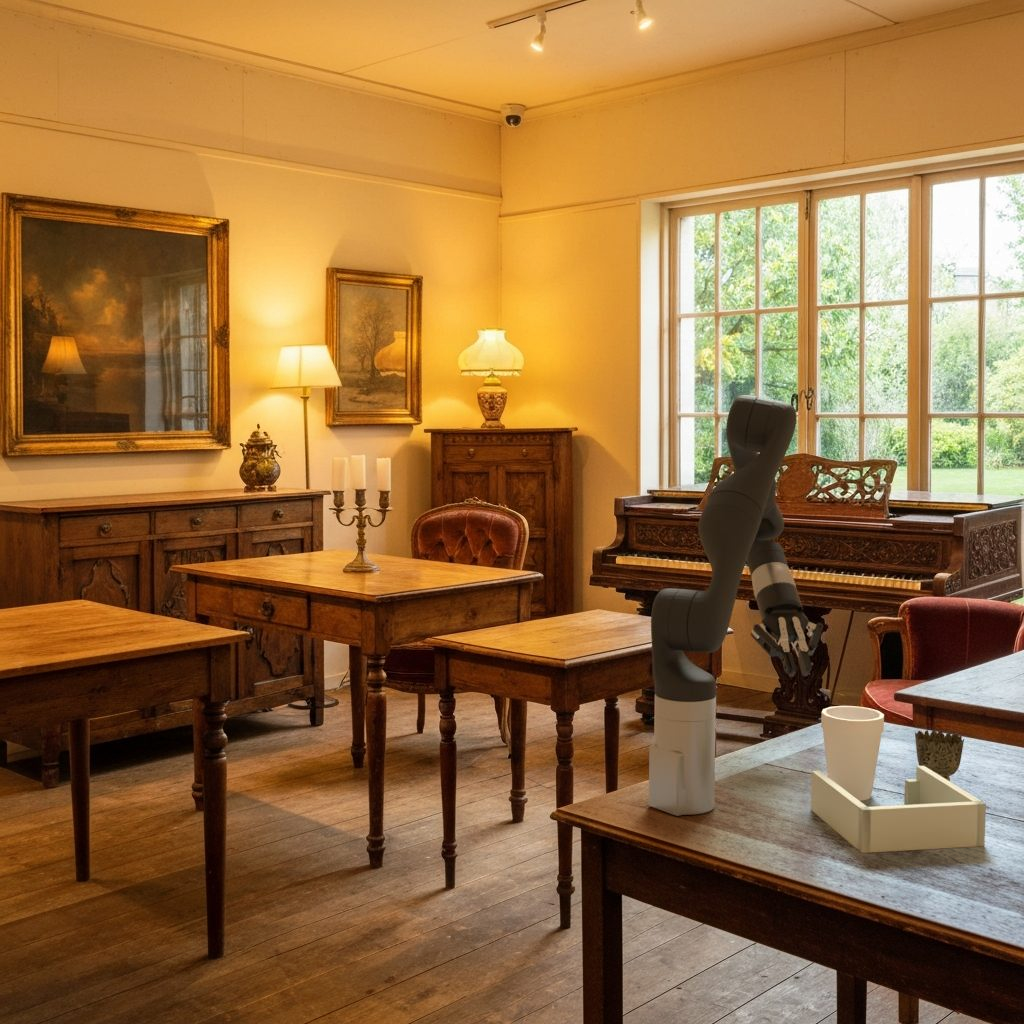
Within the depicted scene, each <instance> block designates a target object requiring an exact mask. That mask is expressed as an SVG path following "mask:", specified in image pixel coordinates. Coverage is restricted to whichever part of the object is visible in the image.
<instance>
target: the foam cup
mask: <svg viewBox="0 0 1024 1024" xmlns="http://www.w3.org/2000/svg"><path fill="white" fill-rule="evenodd" d="M820 715H821V716H820V717H821V719H820V722H821V724H820V727H821V728H822V734H823V736H822V737H823V743H824V744H823V745H824V754H825V761H826V770H827V772H826V773H827V777H828V778H830V779H831V780H832V781H834V782H835V783H836V784H838V785H839V786H840V787H842V788H843V789H844V790H846V791H847V792H848V793H850V794H851V795H852V796H854V797H855V798H856V799H858V800H859V801H860V802H862V801H867V800H869V799H870V800H871V798H872V793H873V789H874V782H875V777H876V776H875V775H876V772H877V764H878V759H879V754H880V753H879V752H880V746H881V742H882V741H881V739H882V735H883V732H884V728H885V714H884V713H882V712H881V711H879V710H877V709H873V708H869V707H863V706H858V705H857V706H855V705H854V706H853V705H838V706H836V705H835V706H829V707H826V708H823V709H822V711H821V714H820Z"/></svg>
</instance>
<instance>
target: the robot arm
mask: <svg viewBox="0 0 1024 1024" xmlns="http://www.w3.org/2000/svg"><path fill="white" fill-rule="evenodd" d="M730 406H731V407H729V408H730V409H729V412H728V415H727V419H726V426H725V427H726V429H725V434H726V442H727V446H728V450H729V451H728V452H729V454H730V459H731V462H732V466H733V469H734V471H733V473H731V474H729V475H728V476H727V477H725V478H723V479H721V481H720V482H718V483H717V484H716V485H715V486H714V487H713V488H712V489H711V491H710V492H709V494H708V496H707V499H706V501H705V505H704V507H703V509H702V512H701V515H700V518H699V521H698V524H697V525H698V526H697V527H698V536H699V540H700V543H701V546H702V547H703V550H704V552H705V554H706V557H707V559H708V562H709V564H710V568H711V572H712V574H711V580H710V584H709V586H708V588H706V589H705V590H695V589H685V588H669V587H668V588H663V589H661V590H660V591H659V592H658V593H657V594H656V596H655V598H654V600H653V603H652V608H651V613H650V614H651V616H650V632H651V637H650V638H651V655H652V657H651V658H652V659H651V660H652V661H651V662H652V678H653V681H654V682H653V683H654V723H653V725H654V727H653V729H654V731H653V732H654V734H653V736H654V737H653V738H654V739H653V743H651V744H650V745H649V750H648V751H649V752H648V753H649V754H648V758H649V759H648V765H649V766H648V769H649V770H648V806H649V807H651V808H654V809H657V810H660V811H662V812H666V813H667V814H670V815H673V816H677V817H678V816H682V815H683V816H685V815H701V814H706V813H708V812H711V811H712V810H714V808H715V796H716V795H715V790H716V789H715V785H716V784H715V783H716V781H715V780H716V721H717V720H716V719H717V715H716V713H717V708H716V707H717V682H716V681H717V680H716V679H715V676H713V675H712V674H711V673H709V672H707V671H706V670H704V669H702V668H700V667H698V666H696V664H694V663H693V662H692V661H691V660H689V659H688V657H687V656H686V654H685V652H694V653H703V654H706V653H714V652H716V651H718V650H719V649H720V648H721V646H722V645H723V643H724V641H725V638H726V636H727V633H728V629H729V627H730V622H731V619H732V615H733V611H734V606H735V602H736V599H737V594H738V590H739V587H740V583H741V578H742V575H743V572H744V569H745V566H746V563H747V567H748V570H749V573H750V577H751V581H752V583H751V584H752V590H753V595H754V597H755V600H756V604H757V607H758V611H759V615H760V618H761V623H760V624H757V623H756V624H754V625H753V627H752V629H751V632H750V636H751V637H752V638H753V640H754V641H755V642H756V643H757V644H758V645H759V646H760V647H761V648H762V649H763V650H764V651H765V652H766V653H767V654H768V656H770V657H772V658H773V657H778V658H779V659H780V660H781V664H782V667H783V670H784V672H785V674H788V676H789V677H794V676H795V675H796V674H797V673H796V672H797V667H796V664H795V661H794V656H793V654H792V652H790V644H791V646H792V648H793V649H794V650H795V653H796V655H797V657H798V658H797V661H798V664H799V668H800V669H799V670H800V672H801V675H802V677H808V676H809V674H810V672H811V670H812V667H813V665H812V661H811V659H810V656H813V655H814V652H815V650H817V648H818V645H819V641H820V638H821V635H822V631H823V628H824V624H823V623H822V622H817V623H814V622H812V621H809V619H808V617H807V616H806V614H805V613H804V608H803V604H802V601H801V598H800V595H799V592H798V588H797V586H796V583H795V579H794V577H793V576H794V575H792V572H791V570H790V568H789V564H788V561H787V558H786V554H785V552H784V548H783V547H782V545H781V544H780V543H779V542H776V541H773V539H777V538H779V536H780V535H782V533H783V531H784V528H785V521H784V516H783V514H782V511H781V509H780V507H779V506H778V504H777V502H776V494H777V491H776V490H777V481H776V476H777V475H778V472H779V469H780V468H781V465H782V463H783V460H784V458H785V457H786V454H787V451H788V449H789V448H790V444H791V442H792V441H793V440H792V439H793V437H794V433H795V432H796V431H795V430H796V426H797V411H796V409H795V407H794V406H793V405H792V404H790V403H788V402H785V401H781V400H775V399H771V398H767V397H766V398H765V397H762V396H756V395H748V394H747V395H745V394H741V395H738V396H737V397H736V398H735V399H734V400H733V402H732V403H731V405H730ZM806 629H807V630H808V635H809V637H810V639H809V643H808V644H807V641H806V636H805V631H806ZM789 642H790V644H789Z"/></svg>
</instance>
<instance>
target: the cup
mask: <svg viewBox="0 0 1024 1024" xmlns="http://www.w3.org/2000/svg"><path fill="white" fill-rule="evenodd" d="M914 737H915V748H916V749H915V750H916V756H917V757H916V758H917V762H918V763H917V764H918V766H925V767H927V768H928V769H930V770H932V771H933V772H935V773H937V774H938V775H940V776H941V777H943V778H945V779H946V780H948V781H950V782H951V776H953V775H955V773H957V772H958V770H959V767H960V765H961V760H962V754H963V748H964V743H965V742H964V741H965V738H963V737H962V735H959V733H958V732H955V733H952V734H951V732H950V731H949V730H948V731H947V732H946V733H944V732H943V731H942V730H938V731H936V730H935V729H933V730H931V731H930V733H929V730H928V729H926V730H925V731H924V733H923V731H921V730H918V731H917V732H914Z"/></svg>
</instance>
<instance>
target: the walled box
mask: <svg viewBox="0 0 1024 1024" xmlns="http://www.w3.org/2000/svg"><path fill="white" fill-rule="evenodd" d="M915 771H916V773H915V775H916V777H915V778H906V779H904V801H903V802H904V804H899V805H898V804H897V805H879V806H878V805H877V806H867V805H866V804H864V803H863V802H862V801H859V800H858V799H856V798H855V797H854V796H852V795H851V794H850V793H848V792H847V791H846V790H844V789H843V788H842V787H840V786H839V785H838V784H836V783H835V782H834V781H832V780H831V779H830V778H828V775H826V774H825V773H824V772H822V771H821V770H811V780H810V781H811V783H810V784H811V785H810V786H811V789H810V790H811V791H810V810H811V811H812V812H813V814H815V815H816V816H818V817H819V818H820V819H821V820H822V821H823V822H824V823H826V824H827V825H828V826H829V827H831V828H832V829H833V830H834V831H835V832H836V833H838V834H839V835H840V836H841V837H842V838H843V839H844V840H846V841H847V842H848V843H849V844H850V845H852V846H853V847H854V848H855V849H857V851H859V852H860V853H861V854H865V853H882V852H883V853H884V852H897V851H899V852H901V851H916V850H917V851H918V850H935V849H953V848H972V847H974V848H975V847H984V846H985V845H986V843H985V840H986V811H987V810H986V809H987V803H986V802H983V801H982V800H980V799H979V798H977V797H975V796H974V795H972V794H971V793H970V792H967V791H966V790H964V789H963V788H961V787H960V786H958V785H956V784H954V783H953V782H951V780H950V781H948V780H946V779H945V778H943V777H941V776H940V775H938V774H937V773H935V772H933V771H932V770H930V769H928V768H927V767H925V766H919V765H917V766H916V770H915Z"/></svg>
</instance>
